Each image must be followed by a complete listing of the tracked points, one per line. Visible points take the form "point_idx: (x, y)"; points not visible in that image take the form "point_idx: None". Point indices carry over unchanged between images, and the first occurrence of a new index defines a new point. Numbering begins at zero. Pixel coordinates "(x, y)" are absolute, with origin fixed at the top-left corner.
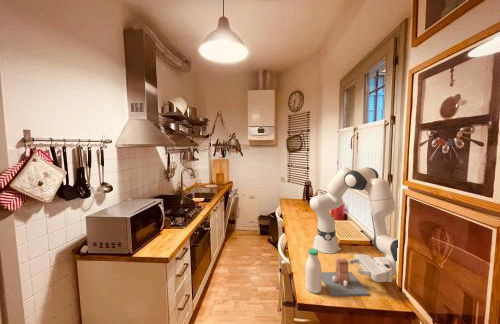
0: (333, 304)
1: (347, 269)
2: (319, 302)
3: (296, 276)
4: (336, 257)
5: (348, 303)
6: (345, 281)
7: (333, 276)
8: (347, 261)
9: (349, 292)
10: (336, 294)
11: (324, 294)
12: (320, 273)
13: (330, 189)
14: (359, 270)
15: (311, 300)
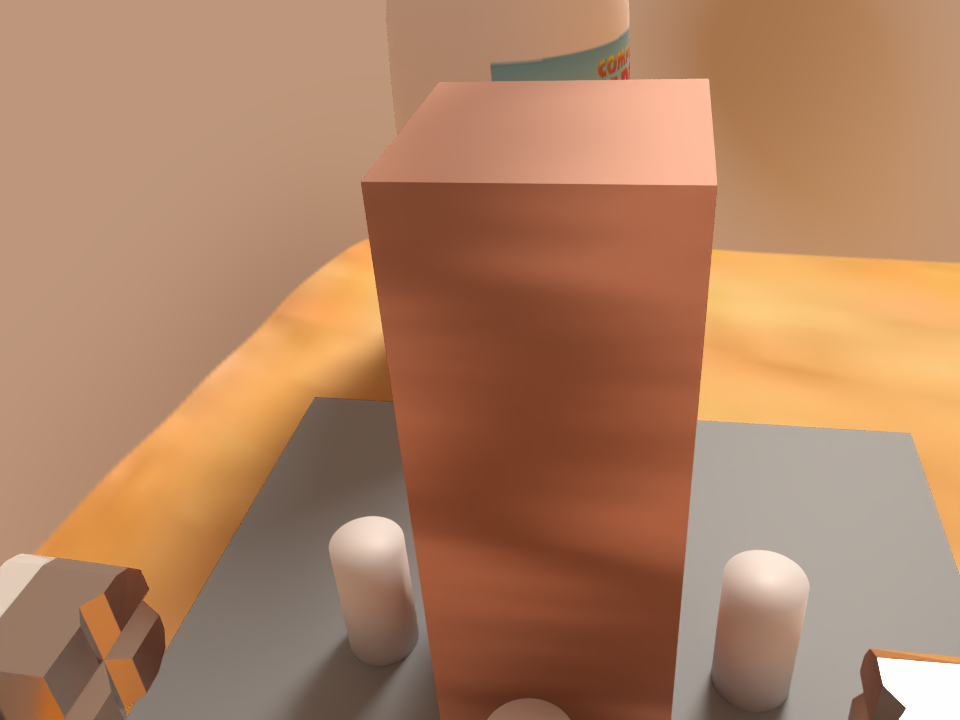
0: (190, 395)
1: (402, 408)
2: (289, 313)
3: (796, 257)
4: (706, 83)
5: (93, 537)
6: (363, 539)
7: None
8: (387, 171)
9: (223, 621)
10: (289, 448)
11: (385, 377)
12: (406, 93)
13: None
14: (54, 558)
15: (347, 276)
